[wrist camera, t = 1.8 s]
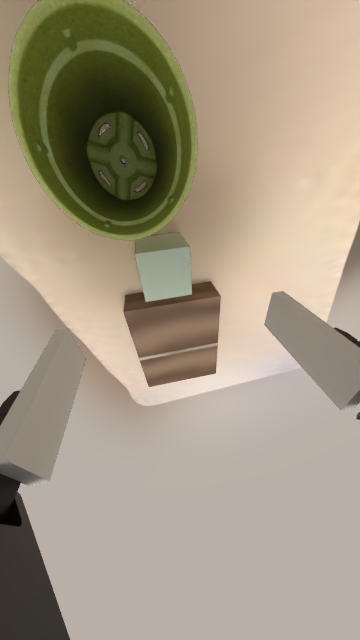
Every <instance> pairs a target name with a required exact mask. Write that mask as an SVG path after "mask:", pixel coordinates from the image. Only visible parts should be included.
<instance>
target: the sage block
mask: <svg viewBox="0 0 360 640" xmlns="http://www.w3.org/2000/svg"><path fill="white" fill-rule="evenodd" d="M134 255H135V259H136V263H137V267H138V272H139V276H140V280H141V284H142V288H143V293H144V297H145V301H146V302H149V301H155V300H161V299H167V298H173V297H179V296H185V295H192V283H191V263H190V246H189V245H188V244H187V242H186V241H185V240H184V238H183V237H182V236H181V234H180V233H179V232H176V233H168V234H161V235H153V236H147V237H144V238H140V239H136V240H135V253H134Z"/></svg>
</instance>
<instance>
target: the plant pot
mask: <svg viewBox="0 0 360 640" xmlns="http://www.w3.org/2000/svg"><path fill="white" fill-rule="evenodd" d="M8 93H9V104H10V110H11V116H12V121H13V124H14V129H15V132H16V136H17V139H18V141H19V144H20V147H21V149H22V151H23V154H24V156H25V158H26V160H27V162H28V165H29V167H30V169H31V170H32V172H33V174H34V176H35V178H36V179H37V181H38V182H39V184H40V185H41V187H42V188H43V190H44V191H45V192H46V194H47V195H48V196H49V197H50V198H51V200H52V201H53V202H54V203H55V204H56V205H57V206H58V207H59V208H60V209H61V210H62V211H63V212H64V213H65V214H66V215H67V216H69V217H70V218H71V219H72V220H74V221H75V222H76V223H78V224H79V225H81V226H82V227H84V228H86V229H87V230H89V231H91V232H93V233H95V234H98V235H101V236H104V237H107V238H111V239H117V240H135V239H140V238H144V237H147V236H149V235H152V234H154V233H156V232H157V231H159V230H160V229H162V228H163V227H164V226H165V225H167V224H168V223H169V222H170V221H171V220H172V219H173V218H174V216H175V215H176V214H177V213H178V211H179V210H180V208H181V206H182V205H183V203H184V201H185V199H186V197H187V195H188V193H189V190H190V187H191V184H192V181H193V177H194V173H195V168H196V161H197V148H198V139H197V125H196V118H195V112H194V107H193V103H192V99H191V95H190V92H189V89H188V86H187V84H186V81H185V78H184V76H183V73H182V71H181V69H180V66H179V64H178V62H177V60H176V58H175V56H174V55H173V53H172V51H171V49H170V48H169V46H168V45H167V43H166V42H165V40H164V39H163V38H162V36H161V35H160V34H159V32H158V31H157V30H156V29H155V27H154V26H153V25H152V24H151V23H150V22H149V21H148V20H147V18H145V17H144V16H143V15H142V14H141V13H140V12H139V11H138V10H136V9H135V8H134V7H133V6H131V5H130V4H128V3H127V2H125V1H124V0H40V1H38V2H37V3H36V4H35V5H34V6H33V7H32V8H31V9H30V11H29V12H28V14H27V15H26V17H25V18H24V20H23V22H22V25H21V26H20V28H19V30H18V32H17V34H16V37H15V40H14V43H13V46H12V50H11V56H10V65H9V79H8ZM105 123H109V124H110V125H111V126H110V128H109V129H107V130H106V131H105V132H104V133H103V134H102V135H100V137H98V132H99V130H100V128H101V126H102V125H104V124H105ZM138 132H139V133H141V134H142V135H143V137H144V138H145V140H146V142H147V144H148V151H147V150H146V149H145V147H144V145H143V142H142V141H141V139H140V138H139V136H138V135H137V133H138ZM121 157H125V159H126V164H122V162H121ZM100 170H101V171H102V172H103V174H104V175H105V177H106V178H107V180H108V181H109V182H110V183H111V186H108V185H107V183H106V182H105V181H104V180H103V179H102V178H101V176H100V174H99V171H100ZM144 181H146V186H145V188H143V189H142V190H141V191H139V192H135V189H136V188H137V187H139V186H140V185H141V184H142V183H143V182H144Z"/></svg>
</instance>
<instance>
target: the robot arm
mask: <svg viewBox="0 0 360 640" xmlns="http://www.w3.org/2000/svg"><path fill="white" fill-rule="evenodd" d="M264 325H265V326H266V327H267V328H268V330H269V331H270V332H271V333H272V334H273V335H274V336H275V337H276V339H277V340H278V341H279V342H280V343H281V344H282V345H283V346H284V348H285V349H286V350H287V351H288V352H289V353H290V354H291V355H292V357H293V358H294V359H295V360H296V361H297V362H298V363H299V364H300V366H301V367H302V368H303V369H304V370H305V371H306V372H307V373H308V374H309V376H310V377H311V378H312V379H313V380H314V381H315V382H316V383H317V385H318V386H319V387H320V388H321V389H322V390H323V391H324V392H325V394H326V395H327V396H328V397H329V398H330V399H331V400H332V401H333V403H334V404H335V405H336V406H337V407H338V408H339V409H340V410H345V409H349V408H353V407H355V406H357V404H359V402H360V342H359V341H357V339H355V338H354V337H352V336H351V335H350V334H348V333H347V332H344V331H342V330H340V329H338V328H332V327H331V326H330V325H328V324H327V323H326V322H324V321H323V320H322V319H320V318H319V317H317V316H316V315H315V314H313V313H312V312H311V311H309V310H308V309H307V308H305V307H304V306H303V305H301V304H300V303H299V302H297V301H296V300H294V299H293V298H292V297H290V296H289V295H288V294H286V293H285V292H284V291H280V292H274V293H272V296H271V300H270V304H269V308H268V312H267V316H266V320H265V324H264ZM86 359H87V358H86V356H85V355H84V353H83V351H82V350H81V348H80V346H79V345H78V343H77V341H76V340H75V338H74V336H73V334H72V333H71V331H70V329H69V328H66V329H60V330H55V332H54V333H53V335H52V337H51V339H50V340H49V342H48V344H47V346H46V348H45V349H44V351H43V353H42V354H41V356H40V358H39V360H38V361H37V363H36V365H35V367H34V368H33V370H32V372H31V373H30V375H29V377H28V379H27V380H26V382H25V384H24V386H23V387H22V389H21V390H20V391H15V392H13V393H12V394H11V395H10V396H9V397H8V398H7V400H5V401H4V402H3V404H2V405H1V407H0V640H70V638H69V635H68V633H67V629H66V626H65V623H64V621H63V618H62V615H61V612H60V609H59V606H58V603H57V600H56V597H55V594H54V591H53V588H52V585H51V582H50V579H49V576H48V574H47V571H46V568H45V565H44V562H43V559H42V556H41V553H40V550H39V547H38V544H37V541H36V539H35V536H34V533H33V530H32V527H31V524H30V521H29V518H28V515H27V512H26V509H25V506H24V503H23V500H22V497H21V495H20V494H19V493H18V492H17V491H18V488H19V485H20V483H23V484H26V485H28V486H33V485H37V484H41V483H45V482H49V481H50V478H51V475H52V472H53V468H54V465H55V461H56V458H57V455H58V452H59V448H60V445H61V442H62V439H63V435H64V432H65V429H66V425H67V422H68V419H69V415H70V412H71V409H72V405H73V402H74V399H75V395H76V392H77V389H78V386H79V382H80V379H81V376H82V372H83V369H84V366H85V362H86ZM357 419H360V412H359V413H358V415H357Z"/></svg>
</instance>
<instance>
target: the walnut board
mask: <svg viewBox="0 0 360 640" xmlns="http://www.w3.org/2000/svg"><path fill="white" fill-rule="evenodd" d="M220 298H221V296H220V294H219V293H218V291H217V290H216V289H215V287H214V286H213V284H212V283H211V282H207V283H201V284H195V285H192V295H185V296H179V297H173V298H167V299H161V300H155V301H149V302H146V301H145V297H144V293H138V294H132V295H126V296H125V304H124V315H125V318H126V321H127V324H128V327H129V330H130V333H131V336H132V339H133V342H134V345H135V348H136V351H137V354H138V357H139V360H140V362H141V365H142V368H143V371H144V374H145V377H146V380H147V383H148V386H149V387H151V386H156V385H161V384H166V383H171V382H176V381H181V380H186V379H191V378H196V377H200V376H205V375H210V374H215V373H216V362H217V346H218V330H219V314H220Z"/></svg>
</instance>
